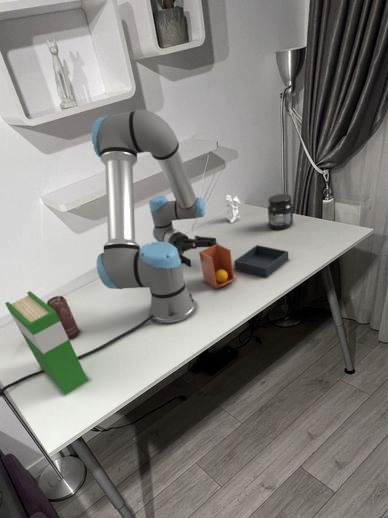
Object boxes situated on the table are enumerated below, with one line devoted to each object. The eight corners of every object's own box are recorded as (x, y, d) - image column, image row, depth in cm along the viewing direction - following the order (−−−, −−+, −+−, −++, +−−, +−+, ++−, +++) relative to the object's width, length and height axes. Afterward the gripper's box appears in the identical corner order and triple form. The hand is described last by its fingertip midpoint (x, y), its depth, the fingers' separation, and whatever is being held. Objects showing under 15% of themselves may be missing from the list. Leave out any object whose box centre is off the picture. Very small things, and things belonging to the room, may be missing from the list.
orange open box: (204, 281, 148) (199, 252, 141) (222, 273, 151) (217, 243, 143) (222, 292, 140) (217, 261, 133) (240, 283, 142) (236, 252, 135)
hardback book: (41, 368, 124) (4, 303, 109) (62, 356, 127) (30, 291, 112) (65, 394, 112) (28, 325, 98) (88, 380, 115) (55, 311, 101)
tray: (266, 277, 143) (265, 268, 140) (235, 269, 151) (234, 261, 149) (288, 260, 150) (288, 251, 148) (257, 253, 158) (256, 245, 156)
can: (82, 328, 138) (67, 293, 129) (76, 340, 133) (60, 304, 124) (66, 330, 139) (50, 295, 130) (59, 341, 134) (42, 306, 126)
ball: (219, 286, 145) (223, 282, 141) (210, 277, 145) (214, 272, 140) (227, 279, 147) (232, 274, 142) (219, 269, 146) (223, 264, 142)
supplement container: (284, 218, 180) (283, 191, 173) (298, 225, 172) (297, 197, 165) (264, 225, 178) (262, 198, 171) (277, 232, 170) (275, 204, 163)
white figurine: (233, 224, 185) (229, 198, 178) (222, 222, 190) (218, 196, 182) (244, 217, 190) (242, 191, 182) (233, 215, 194) (230, 190, 186)
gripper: (203, 238, 169) (233, 253, 154) (152, 261, 161) (178, 278, 146) (200, 221, 164) (231, 234, 149) (147, 243, 156) (174, 259, 141)
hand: (205, 256), depth 147 cm, fingers open, 13 cm apart
